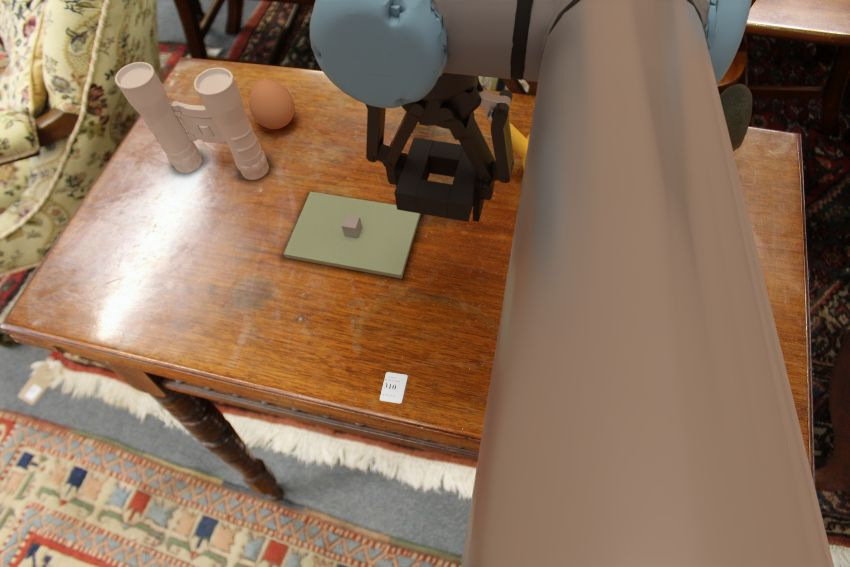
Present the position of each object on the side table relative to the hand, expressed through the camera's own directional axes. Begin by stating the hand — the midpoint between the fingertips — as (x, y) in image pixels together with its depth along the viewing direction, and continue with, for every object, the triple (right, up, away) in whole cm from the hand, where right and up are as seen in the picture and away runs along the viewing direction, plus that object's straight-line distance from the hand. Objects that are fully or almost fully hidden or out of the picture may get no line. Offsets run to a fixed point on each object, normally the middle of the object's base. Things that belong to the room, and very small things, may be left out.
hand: (441, 205), depth 65 cm
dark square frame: (0, +2, -3) cm, 3 cm away
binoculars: (-36, +10, +28) cm, 46 cm away
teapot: (+19, +8, +23) cm, 31 cm away
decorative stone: (+41, +9, +22) cm, 48 cm away
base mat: (-13, -2, +19) cm, 23 cm away
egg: (-27, +19, +32) cm, 46 cm away
